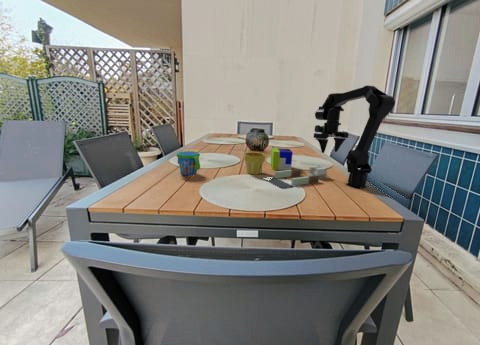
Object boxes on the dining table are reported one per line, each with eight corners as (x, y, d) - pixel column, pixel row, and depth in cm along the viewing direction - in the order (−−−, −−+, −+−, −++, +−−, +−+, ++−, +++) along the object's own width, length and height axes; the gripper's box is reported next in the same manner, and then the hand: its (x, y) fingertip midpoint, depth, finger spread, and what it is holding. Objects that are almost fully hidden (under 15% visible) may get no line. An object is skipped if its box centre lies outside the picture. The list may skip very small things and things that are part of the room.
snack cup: (171, 171, 122) (170, 151, 120) (190, 168, 129) (190, 149, 126) (186, 179, 111) (185, 157, 108) (206, 175, 117) (206, 154, 114)
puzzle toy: (290, 170, 134) (292, 152, 131) (272, 169, 134) (273, 151, 131) (287, 166, 143) (289, 149, 141) (270, 165, 143) (271, 148, 141)
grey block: (325, 178, 122) (327, 168, 120) (317, 179, 119) (318, 169, 117) (317, 175, 127) (318, 165, 125) (308, 176, 124) (309, 166, 123)
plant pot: (262, 176, 120) (263, 156, 117) (241, 174, 122) (242, 155, 119) (264, 171, 130) (266, 152, 127) (245, 169, 132) (246, 151, 129)
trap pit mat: (293, 187, 106) (293, 186, 106) (282, 188, 103) (282, 187, 103) (271, 177, 119) (271, 176, 119) (261, 178, 116) (261, 177, 116)
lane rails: (318, 181, 114) (319, 175, 113) (293, 185, 107) (293, 179, 106) (298, 174, 125) (299, 168, 125) (274, 177, 118) (275, 171, 118)
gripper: (332, 120, 132) (329, 149, 135) (306, 119, 123) (304, 150, 126) (351, 121, 122) (347, 152, 126) (324, 120, 113) (320, 154, 117)
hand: (329, 152), depth 124 cm, fingers open, 9 cm apart
